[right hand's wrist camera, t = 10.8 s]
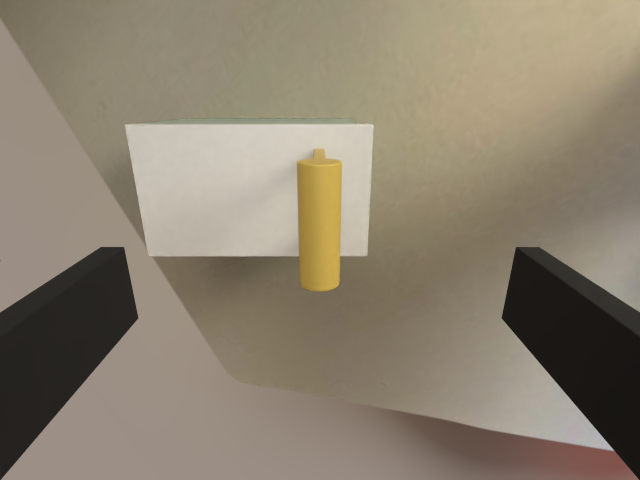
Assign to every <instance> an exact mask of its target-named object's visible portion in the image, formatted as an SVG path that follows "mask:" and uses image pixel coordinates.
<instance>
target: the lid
mask: <svg viewBox="0 0 640 480" xmlns="http://www.w3.org/2000/svg"><path fill="white" fill-rule="evenodd" d="M373 126H374V125H372V124H127V125H125V129H126V134H127V140H128V146H129V151H130V157H131V162H132V168H133V174H134V179H135V185H136V190H137V196H138V202H139V207H140V213H141V218H142V224H143V230H144V235H145V241H146V246H147V252H148V256H299V283H300V285H301V286H302V287H303V288H305V289H307V290H310V291H316V292H323V291H329V290H332V289H334V288H336V287H337V286H338V285H339V283H340V256H367V248H368V228H369V208H370V187H371V167H372V147H373Z"/></svg>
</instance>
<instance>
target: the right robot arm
mask: <svg viewBox="0 0 640 480" xmlns="http://www.w3.org/2000/svg"><path fill="white" fill-rule="evenodd" d="M137 319H138V314H137V309H136V305H135V300H134V295H133V290H132V285H131V280H130V275H129V270H128V265H127V260H126V255H125V250H124V247H101V248H99V249H97V250H96V251H95V252H93V253H91V254H90V255H88V256H87V257H85V258H84V259H82V260H81V261H79V262H77V263H76V264H74V265H73V266H71V267H70V268H68V269H67V270H65V271H64V272H62V273H60V274H59V275H57V276H56V277H54V278H53V279H51V280H50V281H48V282H47V283H45V284H44V285H42V286H40V287H39V288H37V289H36V290H34V291H33V292H31V293H30V294H28V295H27V296H25V297H24V298H22V299H21V300H19V301H17V302H16V303H14V304H13V305H11V306H10V307H8V308H7V309H5V310H4V311H2V312H1V313H0V480H1V479H2V478H3V476H4V475H5V474H6V473H7V472H8V471H9V469H10V468H11V467H12V466H13V465H14V463H15V462H16V461H17V460H18V459H19V458H20V456H21V455H22V454H23V453H24V452H25V451H26V449H27V448H28V447H29V446H30V445H31V444H32V442H33V441H34V440H35V439H36V438H37V436H38V435H39V434H40V433H41V432H42V431H43V429H44V428H45V427H46V426H47V425H48V424H49V422H50V421H51V420H52V419H53V418H54V417H55V415H56V414H57V413H58V412H59V411H60V409H61V408H62V407H63V406H64V405H65V404H66V402H67V401H68V400H69V399H70V398H71V397H72V395H73V394H74V393H75V392H76V391H77V389H78V388H79V387H80V386H81V385H82V384H83V382H84V381H85V380H86V379H87V378H88V377H89V375H90V374H91V373H92V372H93V371H94V370H95V368H96V367H97V366H98V365H99V364H100V362H101V361H102V360H103V359H104V358H105V357H106V355H107V354H108V353H109V352H110V351H111V350H112V348H113V347H114V346H115V345H116V344H117V343H118V341H119V340H120V339H121V338H122V337H123V336H124V334H125V333H126V332H127V331H128V330H129V329H130V327H131V326H132V325H133V324H134V323H135V321H136V320H137ZM502 319H503V320H504V321H505V323H506V324H507V325H508V326H509V327H510V329H511V330H512V331H513V332H514V333H515V334H516V336H517V337H518V338H519V339H520V340H521V341H522V343H523V344H524V345H525V346H526V347H527V348H528V350H529V351H530V352H531V353H532V354H533V356H534V357H535V358H536V359H537V360H538V361H539V363H540V364H541V365H542V366H543V367H544V368H545V370H546V371H547V372H548V373H549V374H550V375H551V377H552V378H553V379H554V380H555V381H556V382H557V384H558V385H559V386H560V387H561V388H562V390H563V391H564V392H565V393H566V394H567V395H568V397H569V398H570V399H571V400H572V401H573V402H574V404H575V405H576V406H577V407H578V408H579V409H580V411H581V412H582V413H583V414H584V415H585V417H586V418H587V419H588V420H589V421H590V422H591V424H592V425H593V426H594V427H595V428H596V429H597V431H598V432H599V433H600V434H601V435H602V436H603V438H604V439H605V440H606V441H607V442H608V444H609V445H610V446H611V447H612V448H613V449H614V451H615V452H616V453H617V454H618V455H619V456H620V458H621V459H622V460H623V461H624V462H625V463H626V465H627V466H628V467H629V468H630V469H631V470H632V472H633V473H634V474H635V475H636V476H637V477H638V479H639V480H640V312H638V311H636V310H635V309H633V308H632V307H630V306H629V305H627V304H626V303H624V302H623V301H621V300H620V299H618V298H616V297H615V296H613V295H612V294H610V293H609V292H607V291H606V290H604V289H603V288H601V287H600V286H598V285H596V284H595V283H593V282H592V281H590V280H589V279H587V278H586V277H584V276H583V275H581V274H579V273H578V272H576V271H575V270H573V269H572V268H570V267H569V266H567V265H566V264H564V263H563V262H561V261H559V260H558V259H556V258H555V257H553V256H552V255H550V254H549V253H547V252H546V251H544V250H543V249H541V248H539V247H516V250H515V255H514V260H513V265H512V270H511V275H510V280H509V285H508V290H507V295H506V299H505V304H504V309H503V314H502Z"/></svg>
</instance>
